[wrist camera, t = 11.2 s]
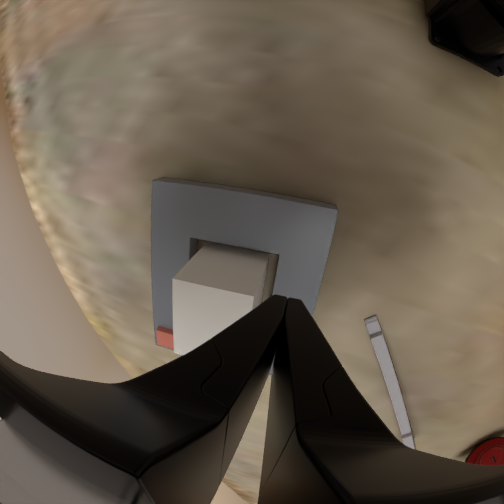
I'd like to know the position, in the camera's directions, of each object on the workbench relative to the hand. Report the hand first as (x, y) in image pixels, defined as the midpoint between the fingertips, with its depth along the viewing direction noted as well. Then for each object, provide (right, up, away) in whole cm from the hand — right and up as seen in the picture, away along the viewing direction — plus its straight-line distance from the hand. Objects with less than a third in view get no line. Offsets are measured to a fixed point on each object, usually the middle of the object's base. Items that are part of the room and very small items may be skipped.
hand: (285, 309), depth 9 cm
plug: (-2, 0, +13) cm, 13 cm away
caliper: (+13, -12, +15) cm, 23 cm away
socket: (-2, -1, +13) cm, 13 cm away
